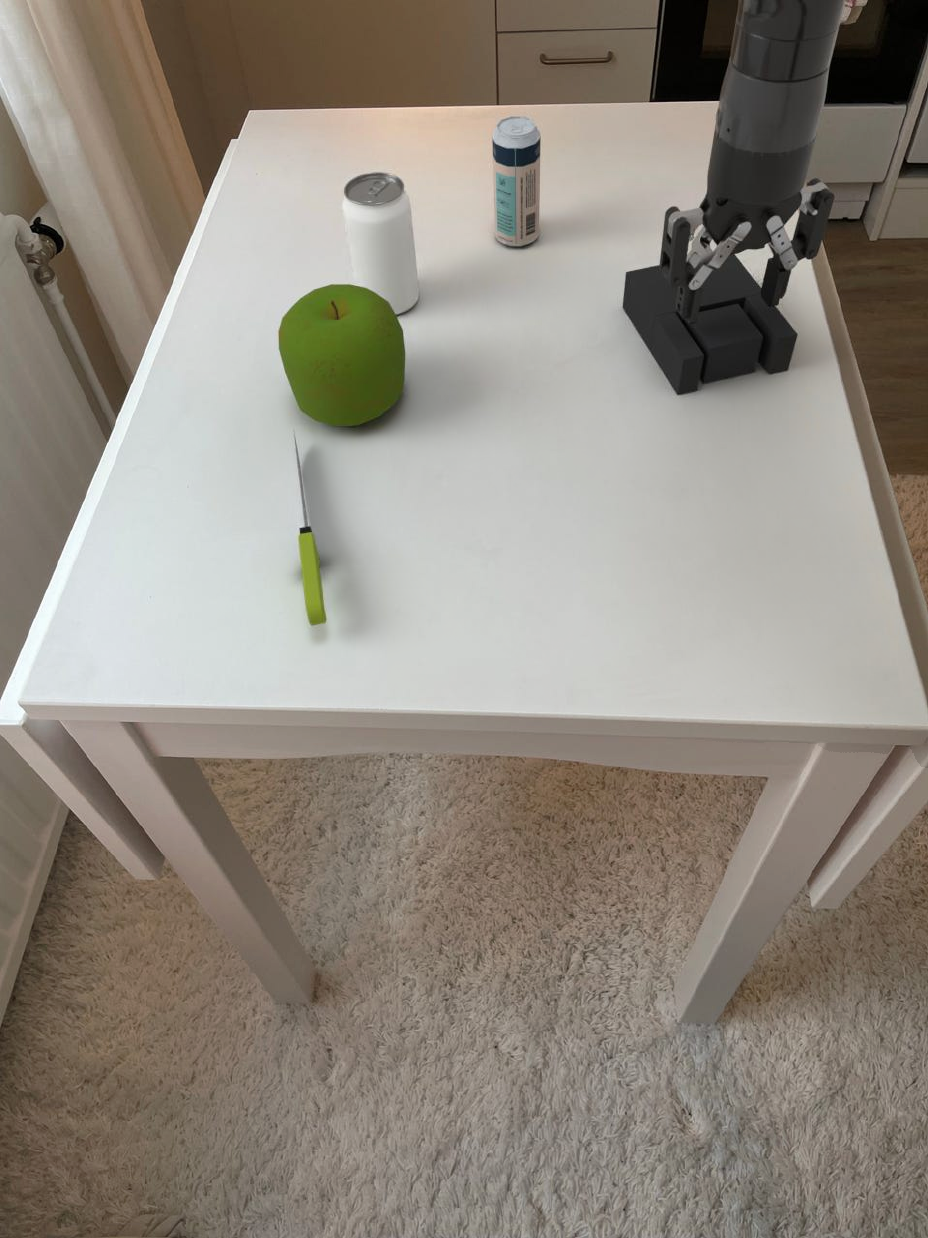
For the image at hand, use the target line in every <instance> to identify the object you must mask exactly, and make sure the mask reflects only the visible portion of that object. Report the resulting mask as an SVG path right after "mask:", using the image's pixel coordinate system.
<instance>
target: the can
mask: <svg viewBox="0 0 928 1238" xmlns="http://www.w3.org/2000/svg"><path fill="white" fill-rule="evenodd" d="M343 194H344V196H343V197H344V198H343V201H342V203H341V208H342V209H341V210H342V218H343V225H344V230H345V237H346V245H347V251H348V256H349V263H350V269H351V274H352V275H351V276H352V281H353V285H355V286H360V287H365V288H367V289H369V290H371V291H373V292H375V293H376V294H378V295H379V296H381V297H382V298H384V299H385V300H387V301H388V302H389V303H390V305H391V307H392V309H393V311H394V313H395V314H396V316H399V315H402V314H405V313H407V312H408V311H410V310H411V309H412V308H413V307H414V306H415V304H416V303H417V302H418V300H419V297H420V287H419V278H418V277H419V276H418V275H419V274H418V266H417V255H416V246H415V237H414V225H413V224H414V223H413V215H412V206H411V199H410V197H409V195H408V193H407V191H406V190H405V184H404V181H403V180H402V179H401V178H400V177H399V176H397V175H395V174H392V173H389V172H383V171H378V172H377V171H373V172H367V173H362V174H360V175H357V176H355V177H353V178H352V179H350V180H349V181H348V182H347V183H345V186H344V189H343Z"/></svg>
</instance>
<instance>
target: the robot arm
mask: <svg viewBox="0 0 928 1238" xmlns="http://www.w3.org/2000/svg"><path fill="white" fill-rule="evenodd" d="M846 1H847V0H738V4H737V5H738V6H737V12H736V17H735V24H734V30H733V36H732V42H731V48H730V54H729V55H730V56H729V59H728V60H729V61H728V65H727V68H726V72H725V75H724V78H723V82H722V85H721V90H720V94H719V99H718V107H717V110H716V114H715V125H714V131H713V138H712V142H711V143H712V144H711V151H710V156H709V161H708V167H707V174H706V175H707V176H706V192H705V196H704V198H703V199H702V201H701V203H700V204H699V206H698V207H696V208H693V209H692V208H691V209H688V210H683V211H681V210H680V209H679V207H678V206H676V205H673V206H670V207H668V209H666V211H665V213H664V220H663V229H662V239H661V249H660V257H659V265H660V266H659V269H660V271H661V272H662V274H663V275H664V276H665V278H666V279H667V281H668V282H669V284H670V285H671V286H672V287H674V288H676V287H678V292H677V298H676V305H675V306H676V309H677V311H678V313H679V314H680V316H681V317H682V319H684V320H685V321H686V323H687V324H693V323H696V322H697V319H698V313H699V308H700V302H701V296H702V290H703V288H702V287H701V285H702V284H703V283H704V281H705V280H706V279H707V277H708V276H709V275H710V273H711V272H712V271H713V270H714V269H718V268H720V266H721V265H722V264H723V262H724V261H725V260H726V258H727V257H728V256H729V255H733V254H735V255H738V254H740V253H743V252H745V251H747V250H752V251H755V250H756V251H757V250H762V249H765V247H766V245H768V248H769V250H770V252H771V254H772V255H773V256H772V257H769V258H767V262H766V267H765V271H764V275H763V279H762V284H761V286H760V287H761V297H762V299H763V300H764V301H765V303H766V304H767V305H768V306H769V307H773V306H776V307H777V306H779V304H780V300H781V299H783V298H784V297H785V295H786V293H787V289H788V285H789V281H790V278H791V274H792V270H793V269H794V268H795V267H796V266H797V265H798V262H800V261H802V260H804V259H806V260H807V261H809V260H813V259H815V258H816V257H817V255H818V254H819V251H820V249H821V244H822V242H823V238H824V234H825V231H826V229H827V224H828V221H829V218H830V215H831V211H832V208H833V204H834V200H835V194H834V193H833V192H832V190H830V188H829V187H828V186H827V185H826V184H825V183H824V182H823V181H822V180H821V179H820V178H818V177H814V178H812V179H811V180H809V182H808V183H807V185H806V186H804V185H805V183H806V179H807V175H808V171H809V167H810V163H811V159H812V155H813V150H814V148H815V147H814V146H815V144H816V143H815V142H816V138H817V135H818V130H819V126H820V122H821V118H822V114H823V111H824V106H825V101H826V97H827V91H828V80H829V73H830V67H831V63H832V58H833V54H834V50H835V46H836V42H837V39H838V34H839V30H840V26H841V23H842V17H843V14H844V9H845V6H846ZM799 209H800V210H799ZM798 210H799V213H798V217H797V221H796V225H795V228H794V231H793V236H792V240H790V237H789V235H788V233H787V230H786V229H785V225H786V224H787V223H788V222H789V221H790V220H791V218H792V217H793V216H794V215H795V213H796V212H797V211H798ZM701 225H702V228H701V229H700V230H699V232H698V233H697V235H696V236H695V233H696V231H697V229H698V228H699V227H700V226H701ZM691 241H692V242H691ZM712 241H713V242H714V244H715V245H716V247H715V248H714V249H713V248H711V243H712ZM690 242H691V249H690V250H689V244H690ZM688 251H689V252H688ZM700 261H701V262H700ZM699 263H700V264H699ZM698 264H699V265H698ZM697 265H698V267H697ZM696 267H697V268H696ZM695 268H696V269H695Z"/></svg>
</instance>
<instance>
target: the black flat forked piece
mask: <svg viewBox="0 0 928 1238" xmlns="http://www.w3.org/2000/svg"><path fill="white" fill-rule="evenodd" d="M700 262H701V261H700ZM699 264H700V263H699ZM699 264H698V265H699ZM698 265H697V267H698ZM659 266H660V264H658V265H653V266H648V267H643V268H639V269H634V270H629V271H625V278H624V289H623V296H622V297H623V299H622V309H623V310H624V312H625V314H626V315H627V317H628V319H629V320H630V321H631V323H632V325H633V326H634V328H635V330H636V332H637V333H638V335H639V336H640V338H641V339H642V341H643V343H644V344H645V346H646V347H647V349H648V351H649V352H650V354H651V355H652V357H653V359H654V360H655V362H656V364H657V365H658V366H659V368H660V370H661V371H662V373H663V374H664V376H665V377H666V379H667V381H668V383H669V384H670V385H671V387H672V389H673V390H674V392H675V393H676V396H677V395H679V396H680V395H684V394H689V393H692V392H697V391H698V390H699V389H698V388H699V384H700V374H701V368H702V363H703V358H704V355H703V353H702V352H701V350H700V349H699V347H698V346H697V344H696V343H695V341H694V340H693V338H692V337H691V335H690V334H689V332H688V331H687V329H686V328H685V327H684V326H685V320H684V319H682V317H681V316H680V314H679V313H678V311H677V309H676V306H675V305H676V298H677V292H678V287H676V288H674V287H672V286H671V285H670V284H669V282H668V281H667V279H666V278H665V276H664V275H663V274H662V272H661V271H660V269H659ZM697 267H696V268H697ZM696 268H695V269H696ZM701 287H702V288H703V290H702V296H701V302H700V308H699V312H703V311H708V310H712V309H717V308H721V307H726V306H730V305H735V304H739V306H740V307H741V308H742V310H743V311H744V312H745V314H746V315H747V316H748V317H749V319H750V320H751V321H752V323H753V324H754V325H755V327H756V328H757V329H758V330H759V332H760V333H761V334H762V336H763V340H762V344H761V348H760V352H759V356H758V360H757V362H759V363H760V365H761V366H762V368H763V369H764V370H765V372H766V373H767V375H772V374H776V373H781V372H786V371H788V370H789V368H790V364H791V360H792V356H793V354H794V349H795V346H796V343H797V339H798V333H797V331H796V330H795V329H794V327H793V326H792V325H791V324H790V322H789V321H788V319H786V317H785V316H784V315H783V314H782V312H781V311H780V310H779V308H778V307H777V306H773V307H769V306H768V305H767V304H766V303H765V301H764V300H763V299H762V297H761V287H762V286H760V285H759V283H758V281H756V279H755V278H754V277H753V275H752V274H751V273H750V272H749V270H748V268H746V266H745V265H744V264H743V263H742V262H741V260H740V259H739V258H738V256H737V254H733V255H729V256H728V257H727V258H726V260H725V261H724V262H723V264H722V265H721V266H720V268H718V269H714V270H713V271H712V272H711V273H710V275H709V276H708V277H707V279H706V280H705V281H704V283H703V284H702V285H701Z"/></svg>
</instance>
